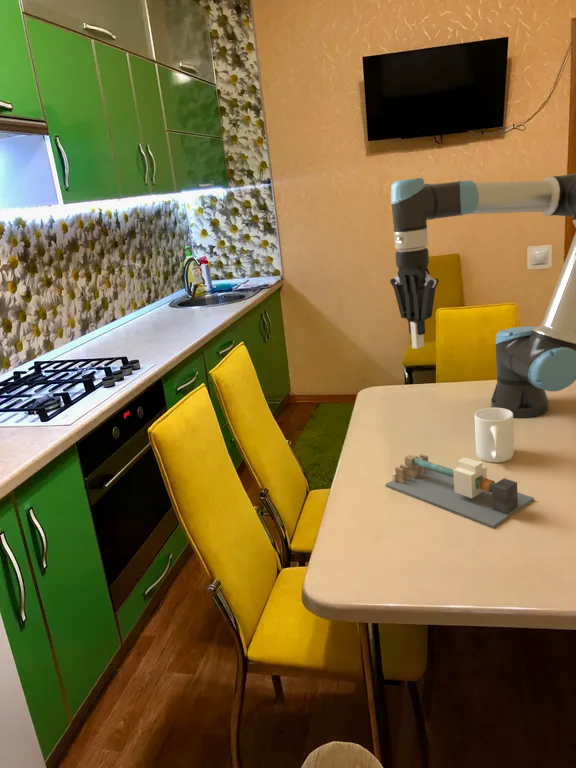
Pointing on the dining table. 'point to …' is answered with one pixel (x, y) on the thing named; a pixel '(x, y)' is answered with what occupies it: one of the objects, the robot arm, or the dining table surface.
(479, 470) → the sleeve
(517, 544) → the dining table surface
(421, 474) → the mat
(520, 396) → the robot arm
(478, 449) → the mug
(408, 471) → the comb rail
